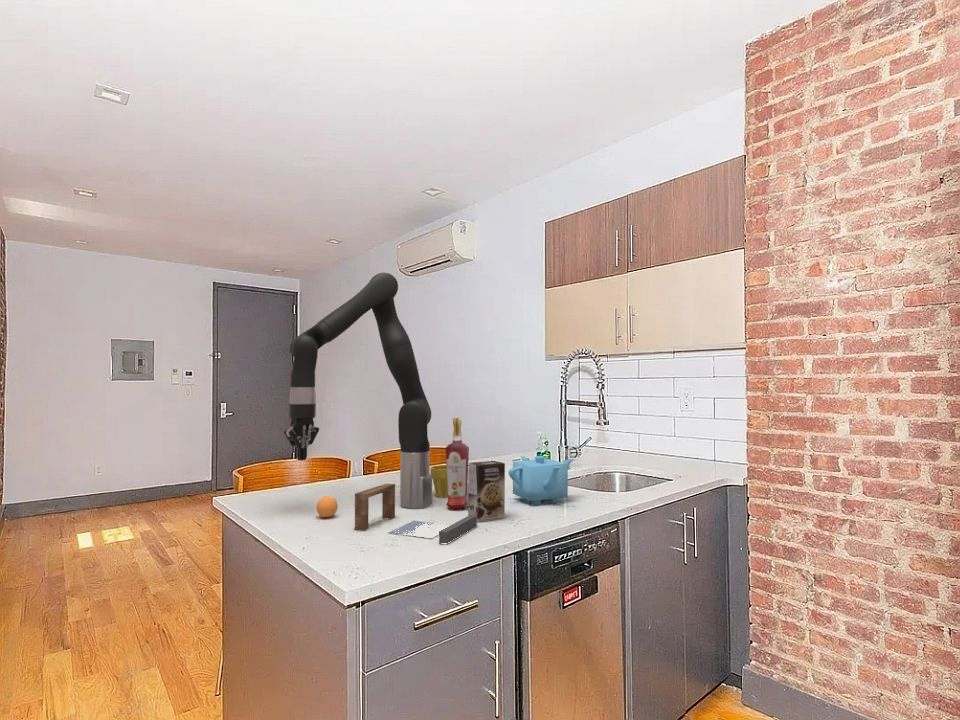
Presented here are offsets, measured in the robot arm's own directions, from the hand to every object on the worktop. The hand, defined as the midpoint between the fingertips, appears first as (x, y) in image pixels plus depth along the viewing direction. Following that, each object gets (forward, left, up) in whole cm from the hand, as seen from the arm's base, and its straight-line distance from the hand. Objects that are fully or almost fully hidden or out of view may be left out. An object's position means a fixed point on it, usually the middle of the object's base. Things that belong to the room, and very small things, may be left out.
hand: (301, 460), depth 167 cm
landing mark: (-42, 0, -16) cm, 45 cm away
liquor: (-40, -25, -16) cm, 50 cm away
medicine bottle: (-41, -35, -16) cm, 56 cm away
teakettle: (-61, -46, -16) cm, 78 cm away
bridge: (-27, 0, -16) cm, 31 cm away
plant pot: (-28, -40, -16) cm, 51 cm away
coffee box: (-53, -18, -16) cm, 58 cm away
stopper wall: (-53, 0, -16) cm, 55 cm away
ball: (-10, 0, -13) cm, 16 cm away
